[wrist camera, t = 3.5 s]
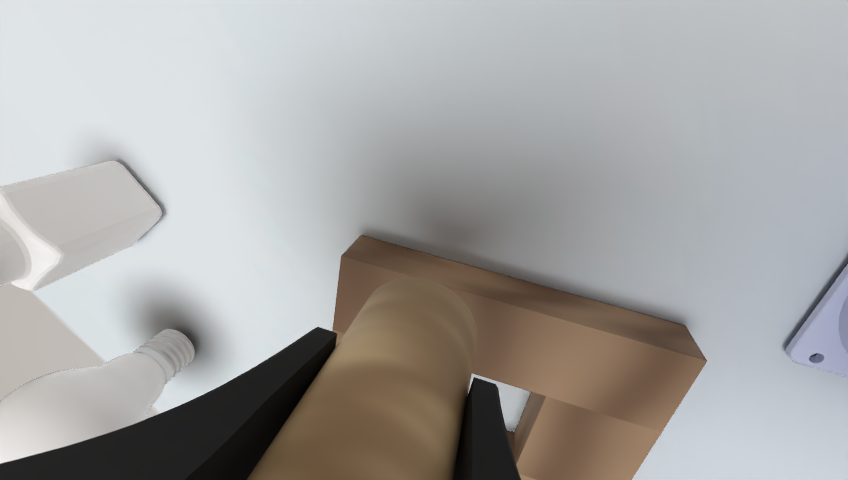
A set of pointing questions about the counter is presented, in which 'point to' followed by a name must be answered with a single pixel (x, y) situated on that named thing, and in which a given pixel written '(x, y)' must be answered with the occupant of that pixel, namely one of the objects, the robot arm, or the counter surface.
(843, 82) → the counter surface
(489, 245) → the counter surface
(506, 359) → the socket board
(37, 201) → the salt shaker
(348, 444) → the peg
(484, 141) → the counter surface
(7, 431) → the lightbulb
